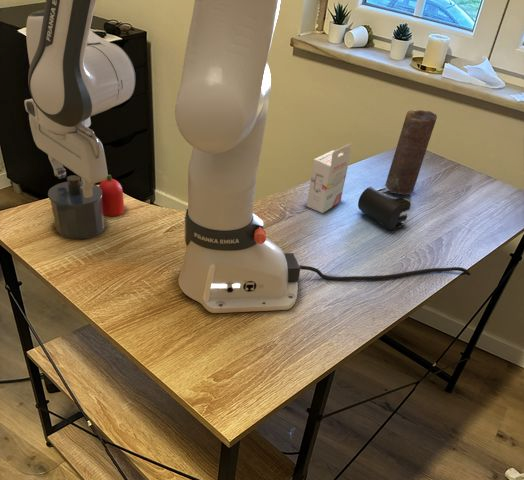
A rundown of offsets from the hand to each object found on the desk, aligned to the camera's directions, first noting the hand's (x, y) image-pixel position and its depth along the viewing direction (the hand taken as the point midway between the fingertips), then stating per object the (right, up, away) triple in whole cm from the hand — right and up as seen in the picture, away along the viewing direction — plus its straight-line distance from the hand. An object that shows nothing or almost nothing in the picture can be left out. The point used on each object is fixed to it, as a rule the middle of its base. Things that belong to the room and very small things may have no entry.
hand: (73, 186), depth 104 cm
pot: (-1, -7, +6) cm, 9 cm away
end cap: (+65, -2, +21) cm, 68 cm away
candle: (+73, +9, +35) cm, 81 cm away
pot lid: (0, -1, +1) cm, 2 cm away
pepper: (+4, -2, +12) cm, 13 cm away
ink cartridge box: (+52, +3, +25) cm, 58 cm away
